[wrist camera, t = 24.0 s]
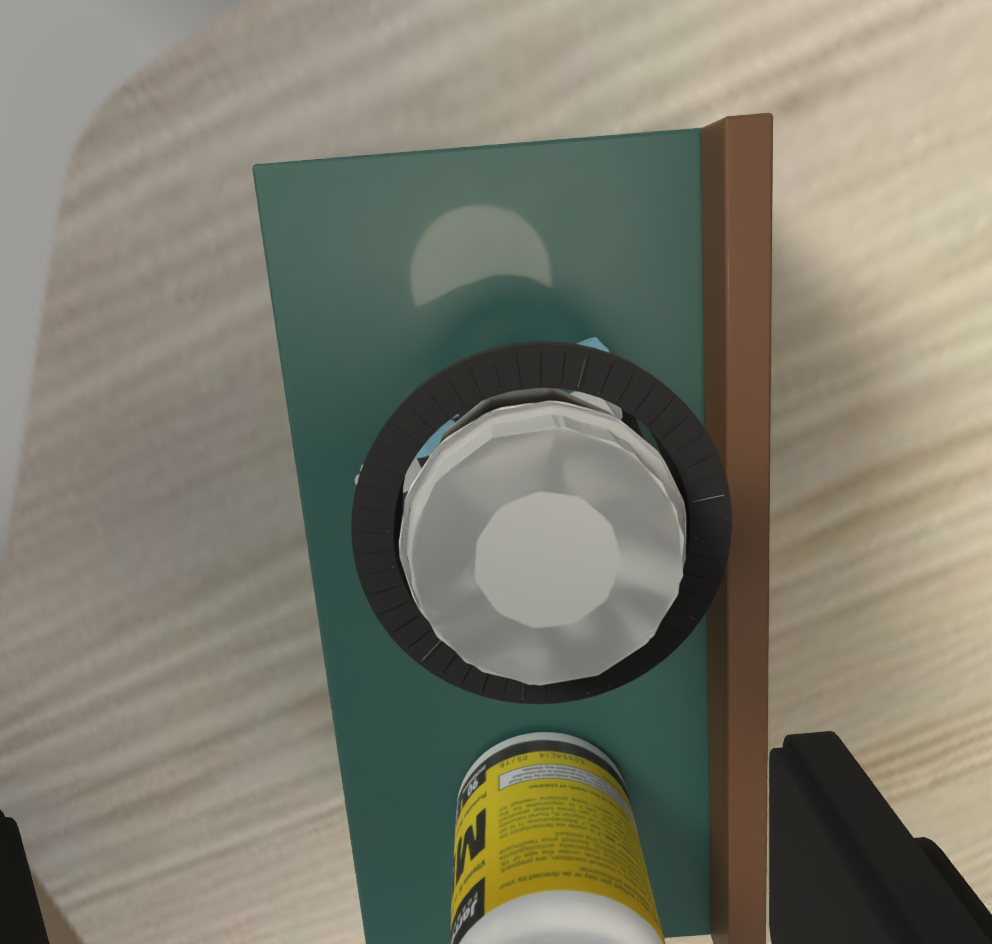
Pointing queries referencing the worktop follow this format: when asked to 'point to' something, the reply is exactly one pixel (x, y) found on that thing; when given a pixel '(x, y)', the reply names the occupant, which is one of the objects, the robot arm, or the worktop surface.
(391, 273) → the shelf
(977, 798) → the worktop surface
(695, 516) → the push button
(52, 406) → the worktop surface
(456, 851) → the supplement bottle
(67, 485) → the worktop surface
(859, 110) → the worktop surface
